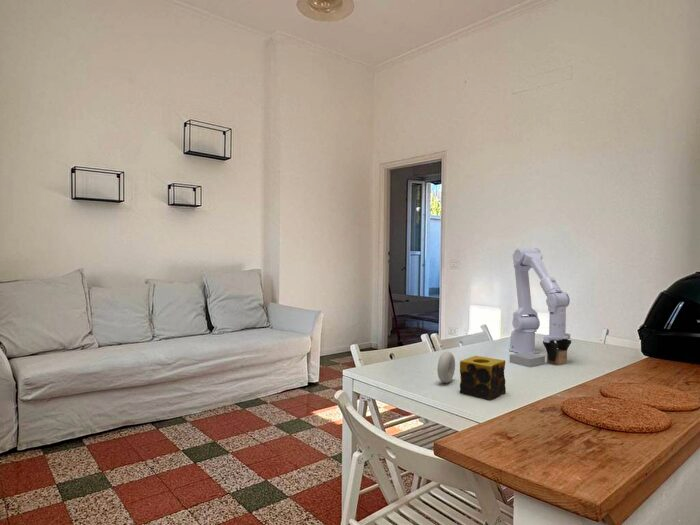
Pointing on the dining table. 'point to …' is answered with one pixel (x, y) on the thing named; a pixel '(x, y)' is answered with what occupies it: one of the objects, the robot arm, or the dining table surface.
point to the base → (527, 359)
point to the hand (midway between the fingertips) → (556, 359)
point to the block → (559, 358)
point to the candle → (482, 377)
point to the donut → (446, 367)
